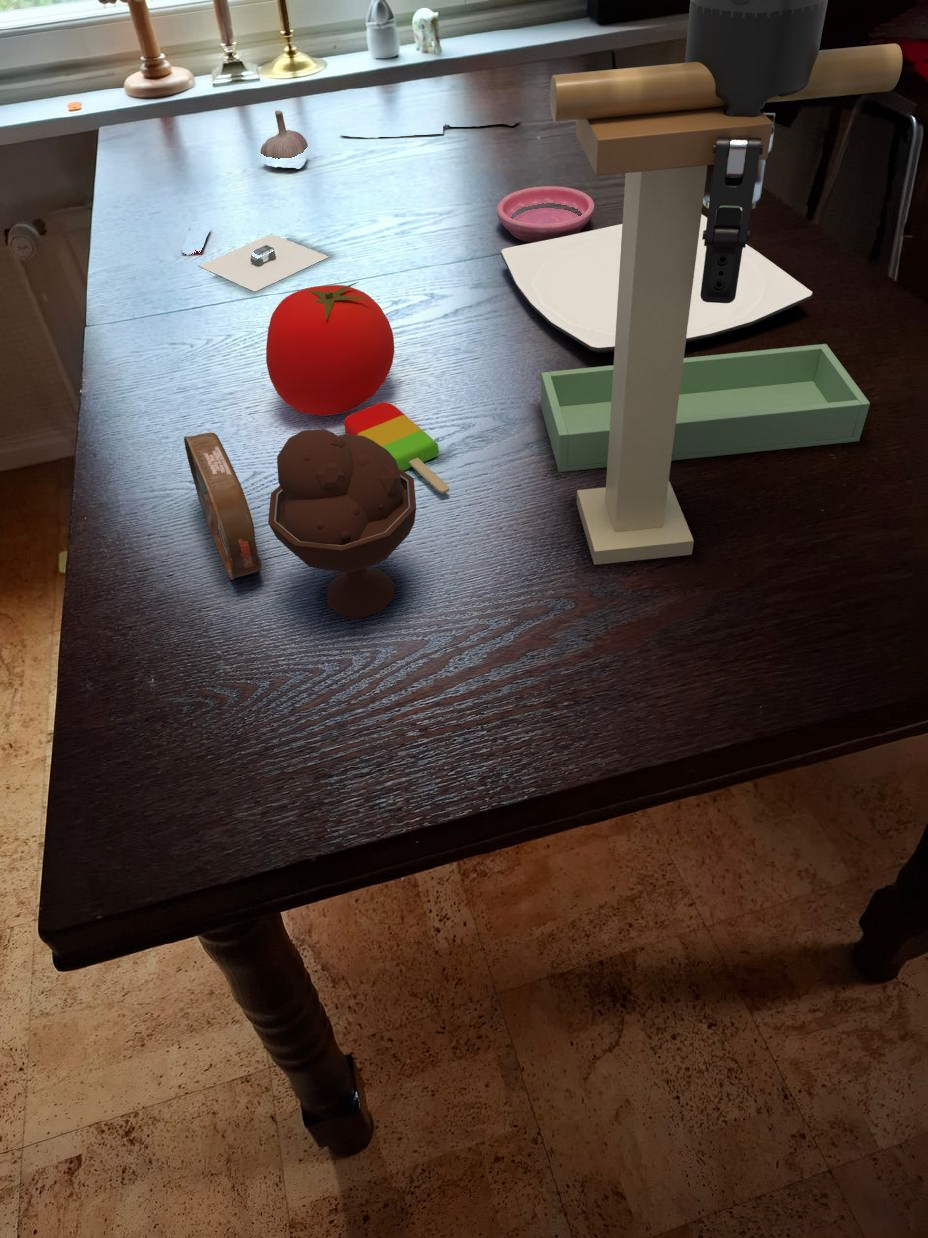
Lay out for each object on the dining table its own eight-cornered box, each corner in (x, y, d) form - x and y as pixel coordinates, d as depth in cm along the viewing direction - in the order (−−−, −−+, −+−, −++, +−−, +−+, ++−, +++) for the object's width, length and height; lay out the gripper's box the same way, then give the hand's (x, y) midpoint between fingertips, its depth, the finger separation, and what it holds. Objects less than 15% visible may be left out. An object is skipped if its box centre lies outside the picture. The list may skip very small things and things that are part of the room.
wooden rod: (879, 85, 55) (888, 39, 54) (896, 95, 53) (907, 47, 52) (549, 116, 55) (549, 70, 53) (556, 127, 53) (556, 80, 51)
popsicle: (390, 413, 91) (388, 397, 90) (472, 487, 82) (471, 470, 81) (341, 433, 89) (338, 416, 88) (420, 511, 80) (418, 494, 79)
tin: (197, 498, 83) (170, 419, 77) (231, 488, 84) (207, 409, 78) (237, 601, 74) (210, 519, 68) (275, 589, 74) (252, 507, 68)
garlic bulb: (313, 171, 139) (303, 114, 133) (265, 178, 138) (253, 120, 133) (308, 154, 144) (298, 98, 139) (262, 161, 144) (250, 105, 138)
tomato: (247, 409, 93) (219, 303, 85) (343, 351, 100) (325, 248, 92) (331, 450, 87) (310, 340, 79) (427, 386, 94) (416, 278, 86)
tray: (817, 380, 91) (826, 343, 88) (859, 441, 83) (870, 403, 81) (541, 408, 90) (541, 372, 87) (558, 472, 83) (559, 435, 80)
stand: (679, 493, 80) (734, 82, 57) (704, 553, 74) (776, 125, 51) (565, 504, 80) (574, 97, 57) (581, 566, 74) (599, 142, 51)
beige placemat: (198, 265, 118) (195, 254, 117) (271, 233, 124) (269, 222, 123) (254, 291, 112) (252, 279, 111) (329, 256, 118) (327, 244, 117)
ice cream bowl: (348, 665, 68) (311, 506, 57) (267, 591, 74) (220, 435, 63) (456, 595, 72) (441, 435, 62) (371, 531, 79) (344, 375, 68)
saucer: (597, 246, 115) (598, 221, 113) (497, 251, 116) (497, 226, 113) (589, 206, 124) (590, 182, 121) (497, 211, 124) (496, 187, 122)
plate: (486, 268, 112) (485, 247, 111) (693, 222, 118) (695, 201, 116) (586, 381, 93) (587, 357, 91) (827, 320, 99) (833, 296, 97)
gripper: (833, 18, 46) (776, 324, 57) (827, -37, 56) (779, 233, 67) (680, 20, 47) (654, 317, 59) (700, -34, 57) (674, 229, 68)
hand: (720, 272), depth 63 cm, fingers open, 8 cm apart
